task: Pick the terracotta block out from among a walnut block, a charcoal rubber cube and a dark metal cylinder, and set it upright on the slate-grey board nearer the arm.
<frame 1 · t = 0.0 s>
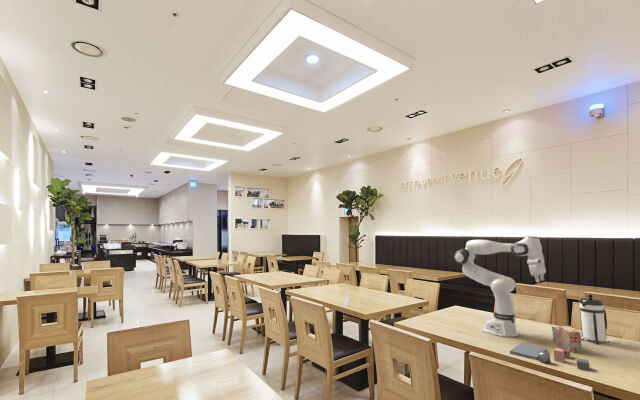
hand: (540, 281, 219), 39 cm above the table, tool pointing down, fingers open, 8 cm apart
walnut block: (564, 356, 191), on the table
stack of blocks: (566, 346, 207), on the table
slate board: (528, 352, 198), on the table
dark metal cylinder: (545, 362, 183), on the table
coffee press: (595, 341, 216), on the table
charcoal rubber cube: (583, 368, 175), on the table
terracotta block: (559, 360, 185), on the table
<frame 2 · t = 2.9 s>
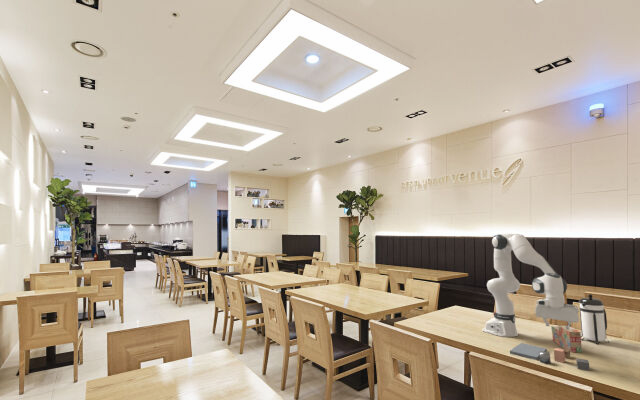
hand: (557, 327, 187), 18 cm above the table, tool pointing down, fingers open, 8 cm apart
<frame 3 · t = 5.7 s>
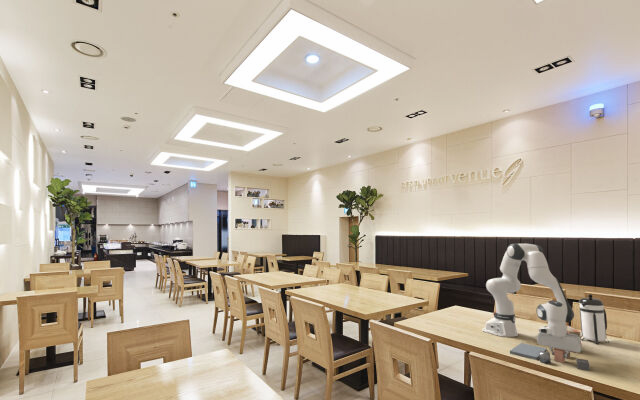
hand: (559, 356, 185), 2 cm above the table, tool pointing down, fingers closed on terracotta block, 4 cm apart
terracotta block: (559, 360, 185), on the table, touching gripper
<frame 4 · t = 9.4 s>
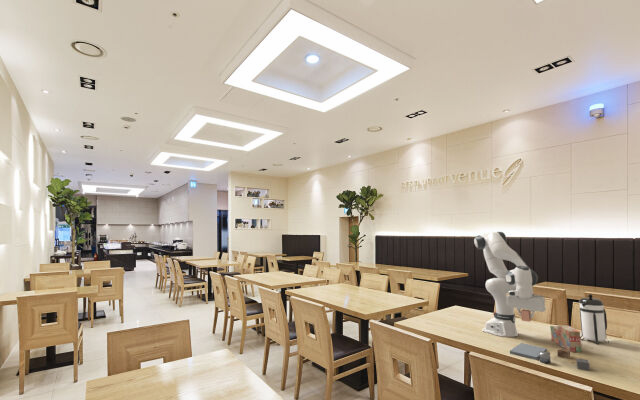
hand: (526, 316, 200), 21 cm above the table, tool pointing down, fingers closed on terracotta block, 4 cm apart
terracotta block: (526, 320, 200), point 19 cm above the table, touching gripper
when the fingers open (5 cm above the table, at t = 13.0 s): terracotta block drops 1 cm, resting on slate board.
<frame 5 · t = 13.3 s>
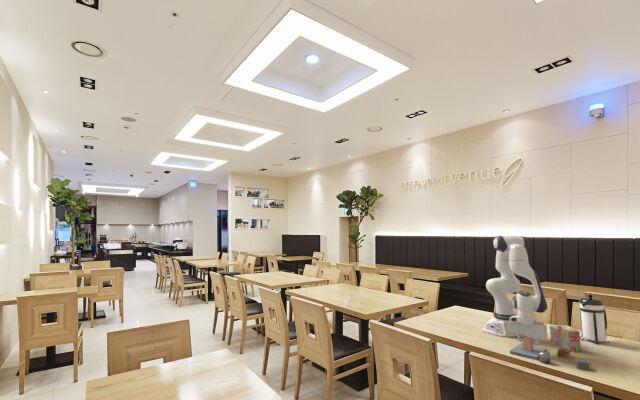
hand: (528, 343, 199), 5 cm above the table, tool pointing down, fingers open, 7 cm apart
terracotta block: (528, 349, 198), point 1 cm above the table, touching slate board
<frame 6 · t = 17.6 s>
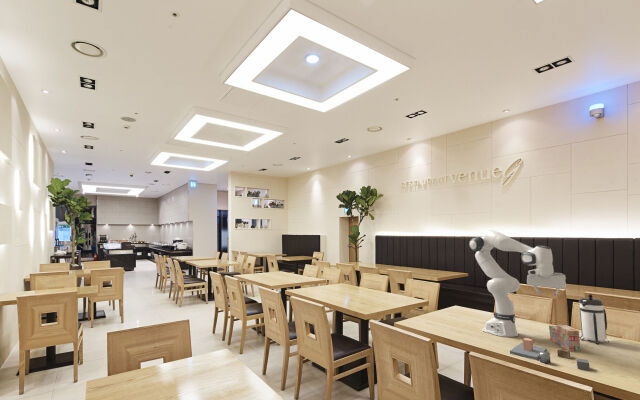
hand: (546, 294, 205), 33 cm above the table, tool pointing down, fingers open, 8 cm apart
at the end: terracotta block inside the target area on the slate board (0.0 cm from its centre), point 1.5 cm above the slate board's base; terracotta block tilted 0°; the gripper is holding nothing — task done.
